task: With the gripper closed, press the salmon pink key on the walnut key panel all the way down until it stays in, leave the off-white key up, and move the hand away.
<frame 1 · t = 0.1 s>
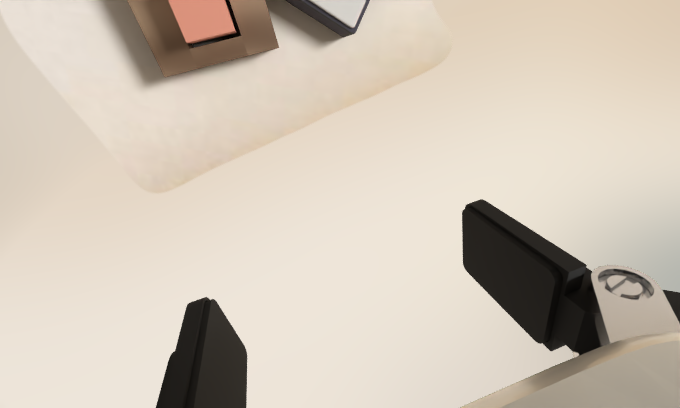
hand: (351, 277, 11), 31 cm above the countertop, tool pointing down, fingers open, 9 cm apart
salmon pink key: (202, 10, 28), point 4 cm above the countertop, slide at 0.0 cm
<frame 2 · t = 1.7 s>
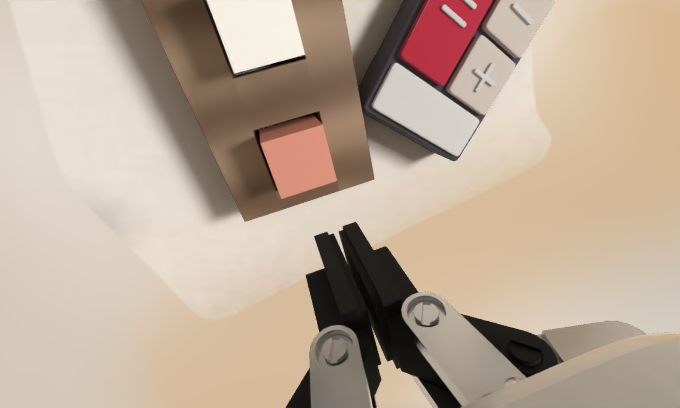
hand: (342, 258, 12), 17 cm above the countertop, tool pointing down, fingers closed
calculator: (437, 54, 27), on the countertop
salmon pink key: (297, 155, 23), point 4 cm above the countertop, slide at 0.0 cm
white key: (256, 24, 19), point 4 cm above the countertop, slide at 0.0 cm
key panel: (275, 91, 24), on the countertop
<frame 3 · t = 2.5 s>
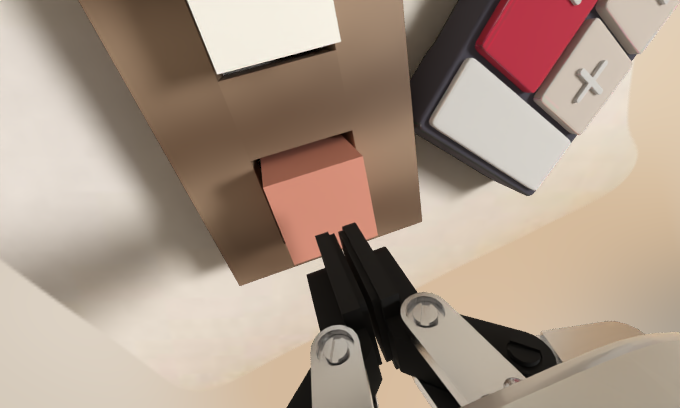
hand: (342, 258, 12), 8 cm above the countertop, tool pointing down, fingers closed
calculator: (512, 48, 19), on the countertop
salmon pink key: (318, 195, 15), point 4 cm above the countertop, slide at 0.0 cm
key panel: (284, 98, 16), on the countertop
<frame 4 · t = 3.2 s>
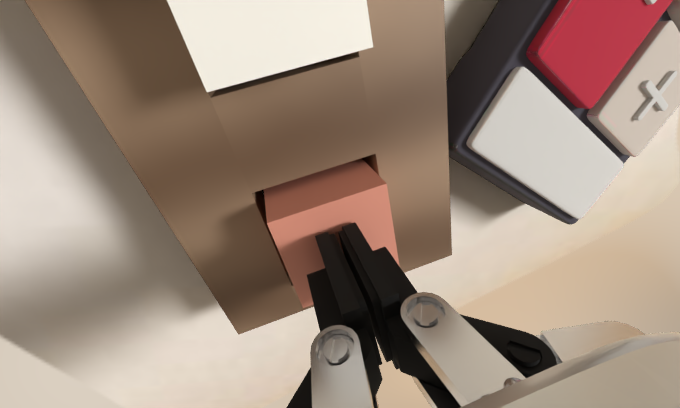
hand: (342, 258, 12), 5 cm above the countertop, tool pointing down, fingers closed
calculator: (555, 54, 16), on the countertop
salmon pink key: (330, 224, 13), point 3 cm above the countertop, slide at 0.6 cm, touching gripper
key panel: (292, 113, 14), on the countertop
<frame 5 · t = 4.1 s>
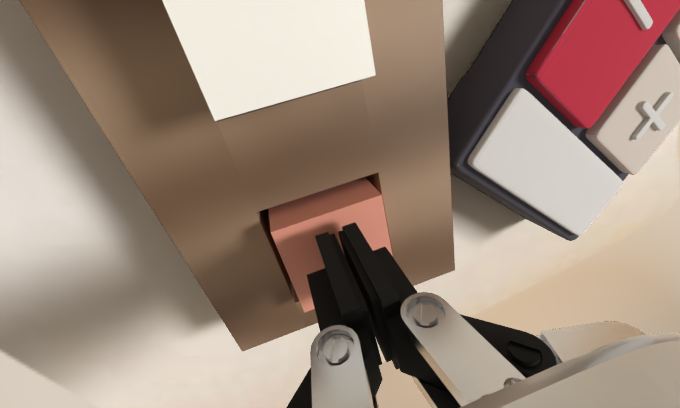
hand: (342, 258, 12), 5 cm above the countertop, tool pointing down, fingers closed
calculator: (553, 74, 17), on the countertop
salmon pink key: (329, 233, 14), point 2 cm above the countertop, slide at 1.4 cm
white key: (266, 10, 9), point 4 cm above the countertop, slide at 0.0 cm
key panel: (296, 132, 14), on the countertop
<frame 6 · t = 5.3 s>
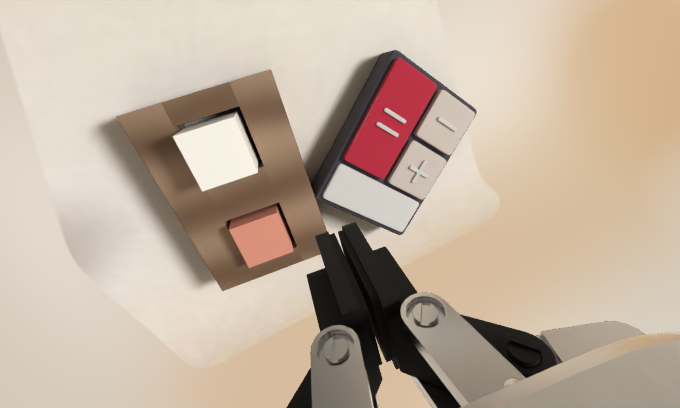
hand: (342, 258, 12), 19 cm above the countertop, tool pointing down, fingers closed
calculator: (384, 146, 32), on the countertop
salmon pink key: (262, 230, 29), point 2 cm above the countertop, slide at 1.4 cm
white key: (220, 149, 24), point 4 cm above the countertop, slide at 0.0 cm
key panel: (245, 183, 29), on the countertop
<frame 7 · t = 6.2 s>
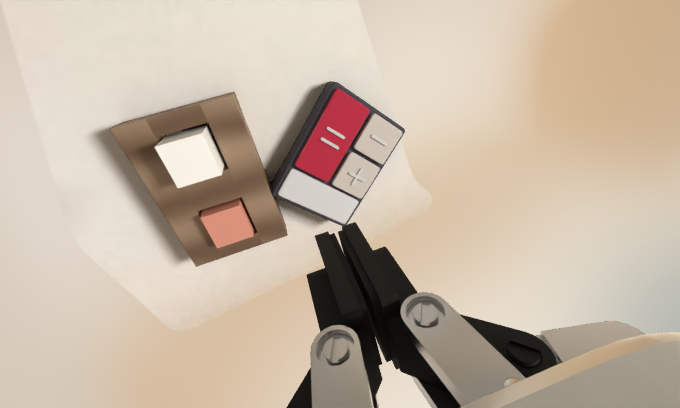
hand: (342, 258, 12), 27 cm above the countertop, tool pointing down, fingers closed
calculator: (333, 154, 39), on the countertop
salmon pink key: (229, 219, 36), point 2 cm above the countertop, slide at 1.4 cm
white key: (193, 155, 31), point 4 cm above the countertop, slide at 0.0 cm
key panel: (215, 180, 36), on the countertop
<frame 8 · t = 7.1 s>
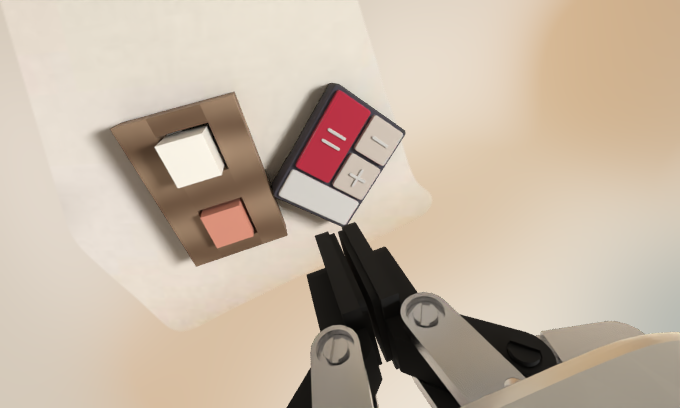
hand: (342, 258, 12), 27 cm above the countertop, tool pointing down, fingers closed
calculator: (334, 155, 39), on the countertop
salmon pink key: (229, 219, 36), point 2 cm above the countertop, slide at 1.4 cm
white key: (193, 155, 31), point 4 cm above the countertop, slide at 0.0 cm
key panel: (215, 180, 36), on the countertop
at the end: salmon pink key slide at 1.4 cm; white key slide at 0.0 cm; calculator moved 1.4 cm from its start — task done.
